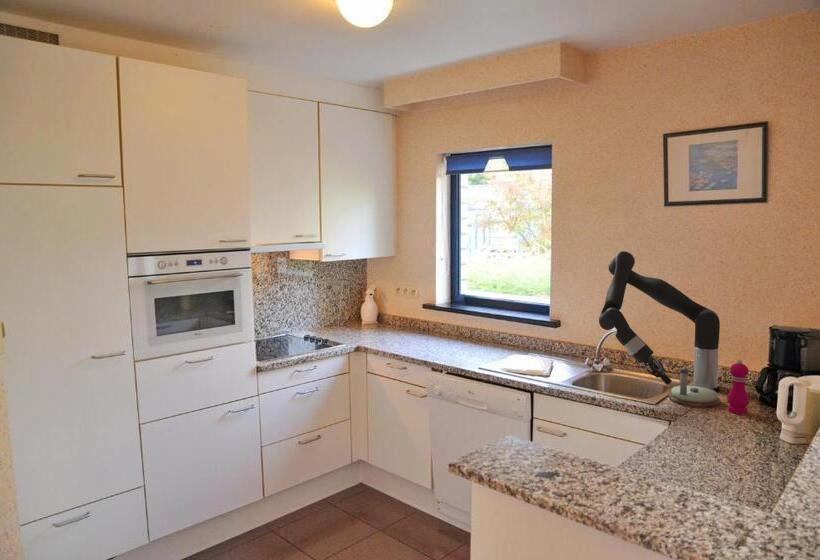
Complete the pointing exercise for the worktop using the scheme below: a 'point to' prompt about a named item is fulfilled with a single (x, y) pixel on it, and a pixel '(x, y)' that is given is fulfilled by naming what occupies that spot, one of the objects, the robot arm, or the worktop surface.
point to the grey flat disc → (694, 403)
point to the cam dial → (692, 391)
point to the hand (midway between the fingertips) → (669, 383)
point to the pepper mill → (738, 389)
